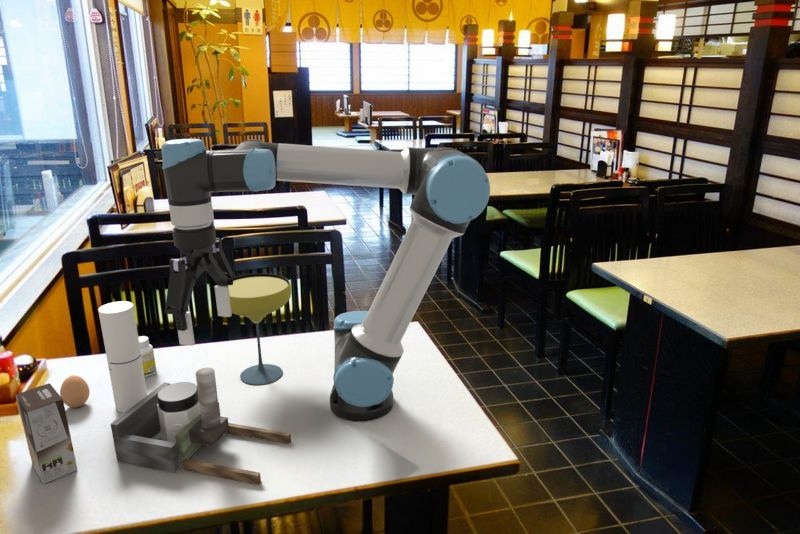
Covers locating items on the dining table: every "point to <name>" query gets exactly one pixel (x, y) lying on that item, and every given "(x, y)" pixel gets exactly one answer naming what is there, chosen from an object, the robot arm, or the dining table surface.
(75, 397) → the egg
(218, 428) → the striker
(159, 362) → the dining table surface
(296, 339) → the dining table surface
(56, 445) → the coffee box
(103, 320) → the cylindrical container
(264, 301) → the cocktail glass
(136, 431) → the lane
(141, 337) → the supplement bottle
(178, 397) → the jar
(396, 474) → the dining table surface
